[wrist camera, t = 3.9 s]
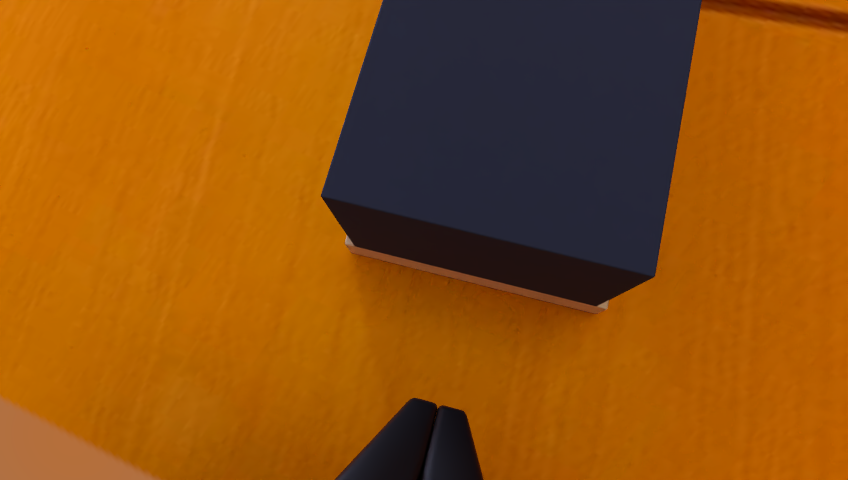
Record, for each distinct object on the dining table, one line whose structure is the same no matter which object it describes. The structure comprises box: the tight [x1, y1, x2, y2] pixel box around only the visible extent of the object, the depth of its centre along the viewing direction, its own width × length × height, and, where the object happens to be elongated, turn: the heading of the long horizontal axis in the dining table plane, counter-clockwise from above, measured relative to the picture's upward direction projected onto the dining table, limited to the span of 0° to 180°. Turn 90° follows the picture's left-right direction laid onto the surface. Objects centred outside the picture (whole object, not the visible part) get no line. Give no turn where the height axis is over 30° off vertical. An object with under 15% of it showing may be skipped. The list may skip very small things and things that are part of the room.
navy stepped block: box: [321, 0, 702, 314], centre depth 21 cm, size 20×10×8 cm, turn 165°
